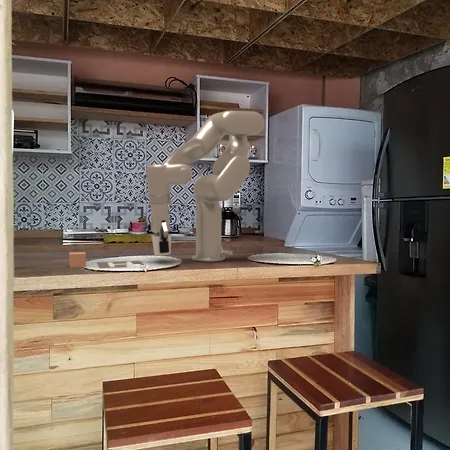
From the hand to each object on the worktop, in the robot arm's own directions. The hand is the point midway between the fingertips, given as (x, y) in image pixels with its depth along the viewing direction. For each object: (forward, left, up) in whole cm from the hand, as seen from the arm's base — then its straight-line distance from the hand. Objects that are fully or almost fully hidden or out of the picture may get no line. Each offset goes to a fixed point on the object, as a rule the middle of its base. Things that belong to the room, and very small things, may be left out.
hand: (162, 251), depth 158 cm
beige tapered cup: (0, 0, -1) cm, 1 cm away
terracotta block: (+24, +15, -5) cm, 29 cm away
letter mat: (+12, +8, -5) cm, 15 cm away
